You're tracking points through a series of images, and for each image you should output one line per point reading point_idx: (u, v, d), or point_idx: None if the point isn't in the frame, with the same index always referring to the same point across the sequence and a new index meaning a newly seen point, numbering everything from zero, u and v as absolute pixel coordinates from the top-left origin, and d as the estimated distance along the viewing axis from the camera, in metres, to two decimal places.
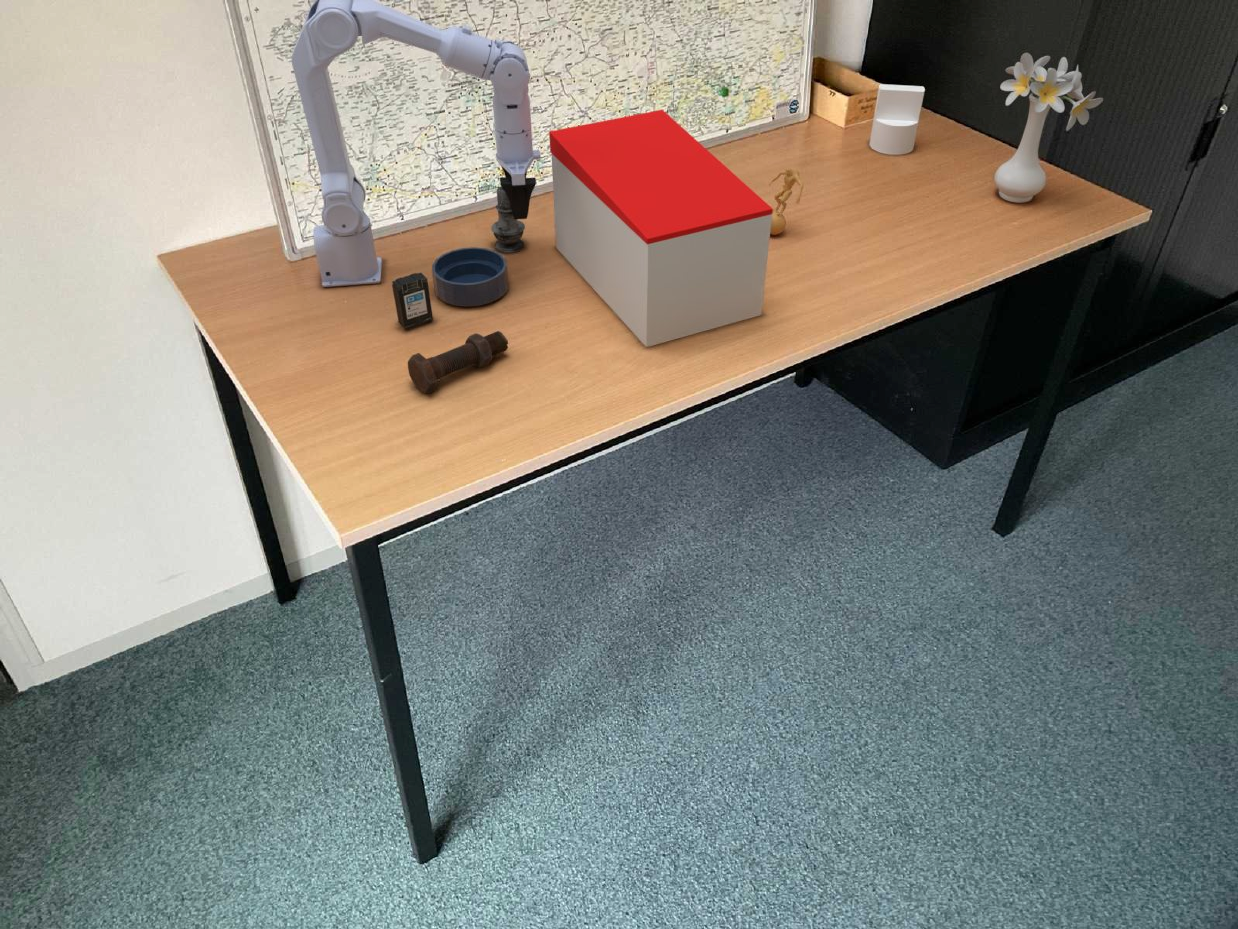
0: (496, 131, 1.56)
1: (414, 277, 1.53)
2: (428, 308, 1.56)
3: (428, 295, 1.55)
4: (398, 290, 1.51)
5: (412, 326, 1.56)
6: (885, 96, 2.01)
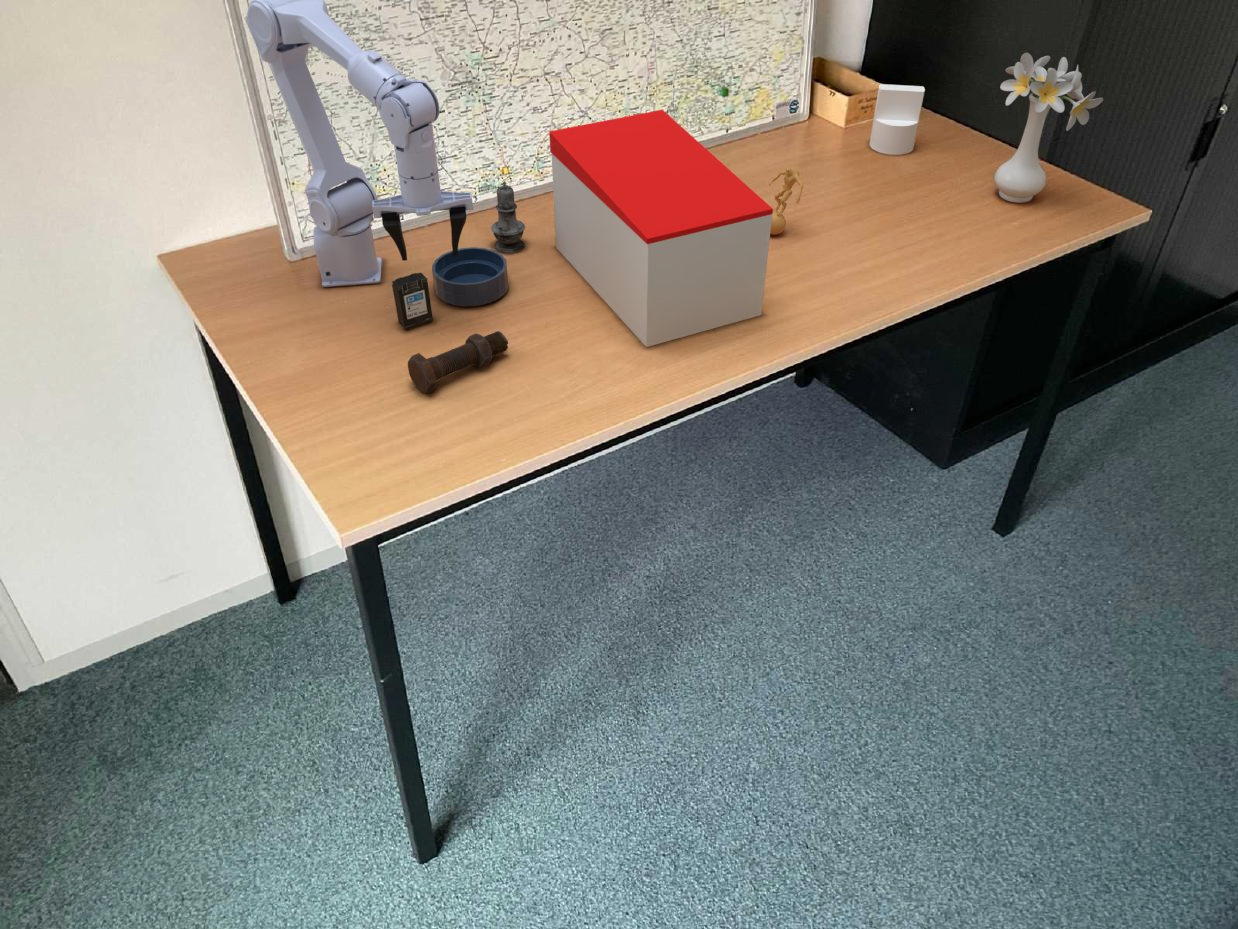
0: None
1: (414, 277, 1.53)
2: (428, 308, 1.56)
3: (428, 295, 1.55)
4: (398, 290, 1.51)
5: (412, 326, 1.56)
6: (885, 96, 2.01)
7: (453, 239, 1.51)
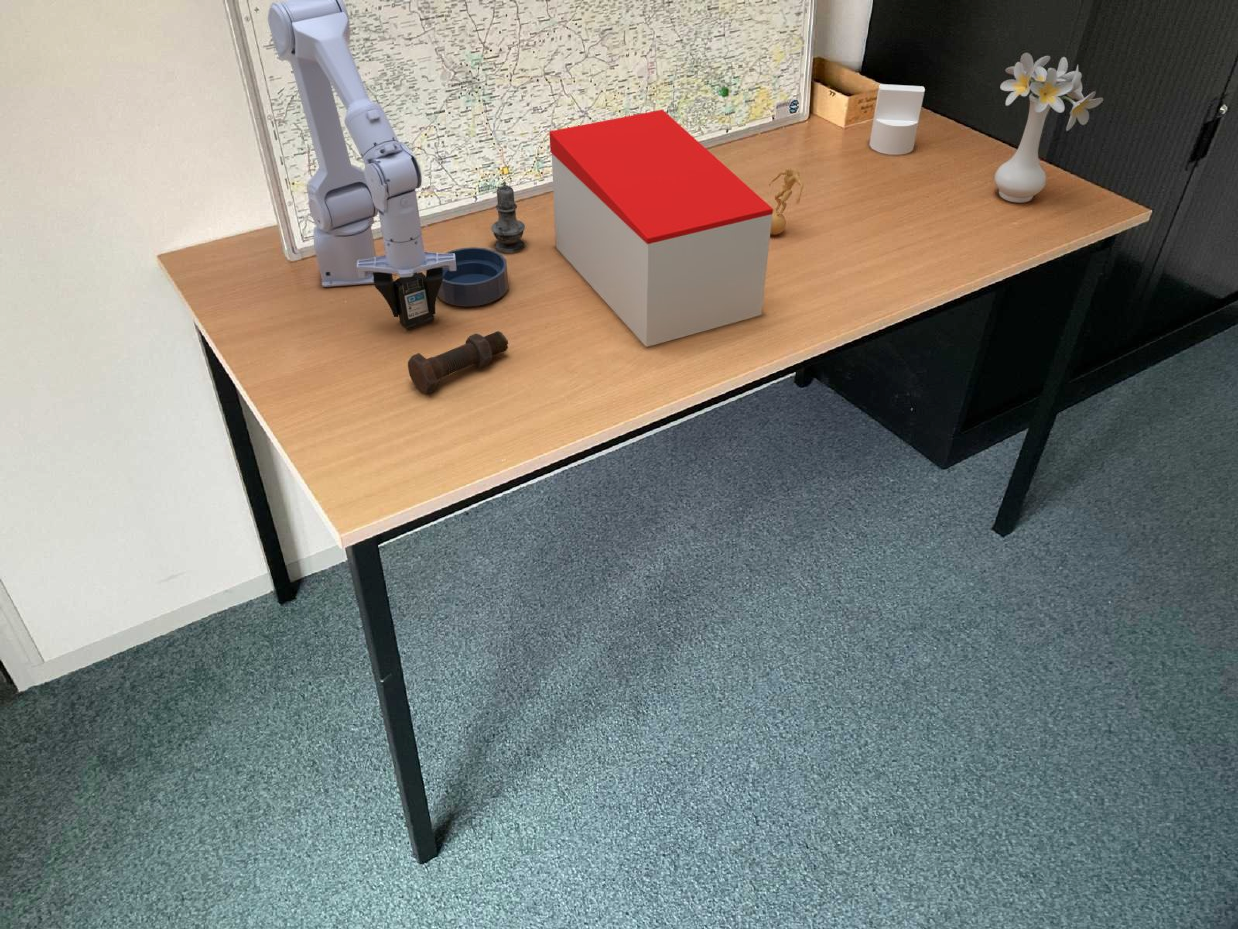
0: None
1: (414, 276, 1.53)
2: (429, 308, 1.56)
3: None
4: (399, 290, 1.51)
5: (414, 325, 1.56)
6: (885, 96, 2.01)
7: (430, 299, 1.53)
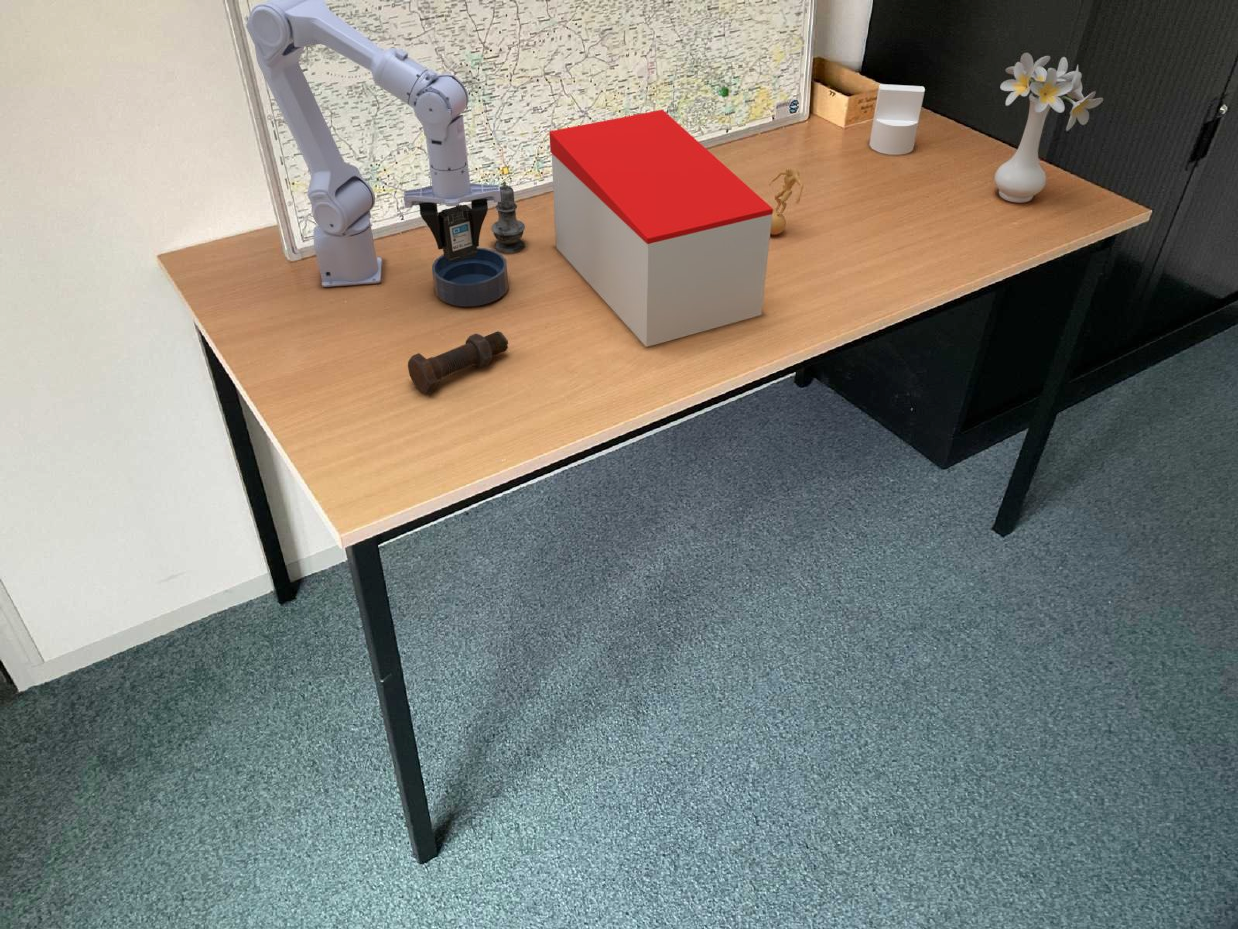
0: None
1: (459, 208, 1.55)
2: (473, 240, 1.58)
3: (473, 227, 1.57)
4: (444, 221, 1.53)
5: (457, 258, 1.58)
6: (885, 96, 2.01)
7: (474, 230, 1.55)
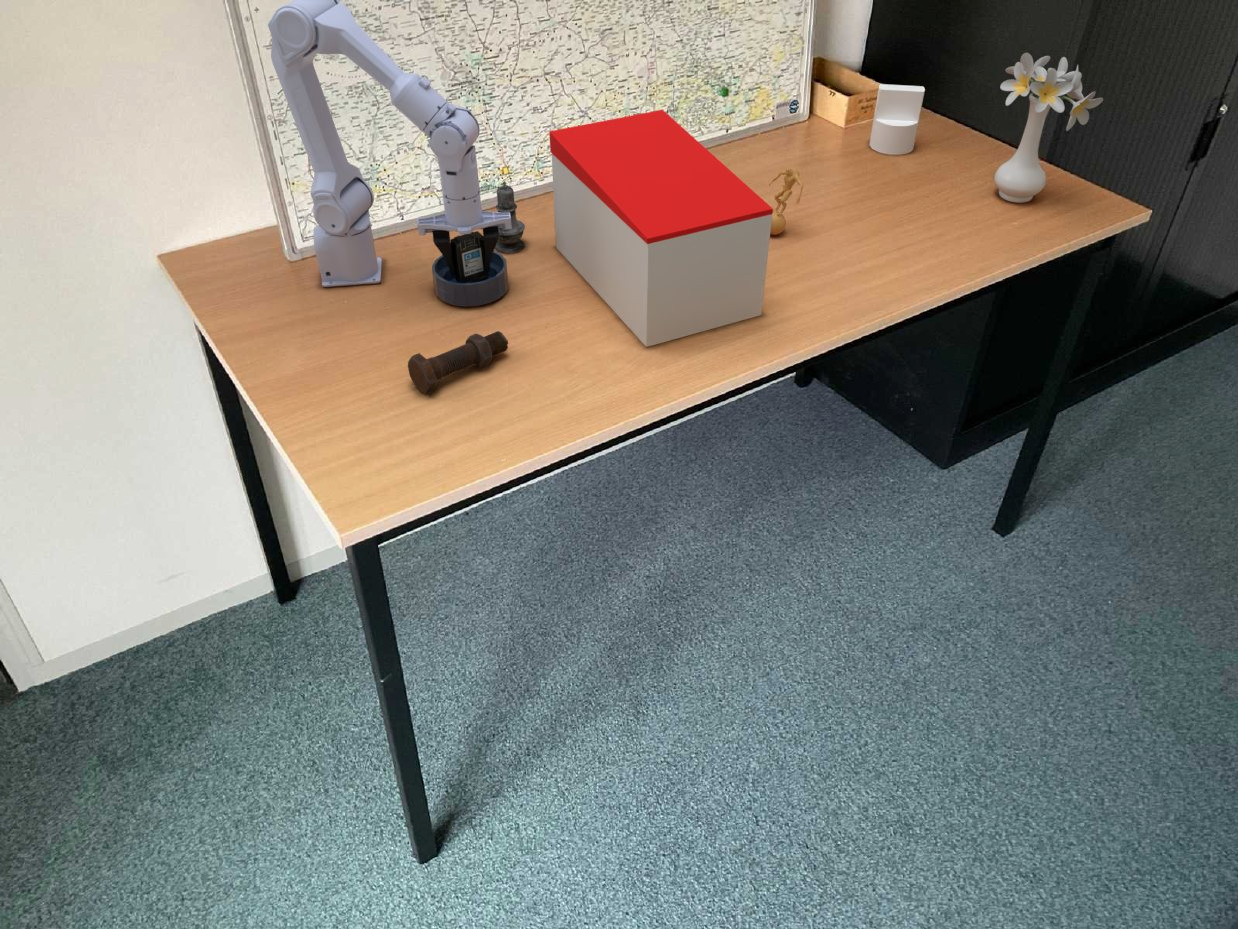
0: None
1: (471, 235, 1.59)
2: (484, 266, 1.63)
3: (484, 253, 1.62)
4: (456, 247, 1.58)
5: None
6: (885, 96, 2.01)
7: (486, 256, 1.60)
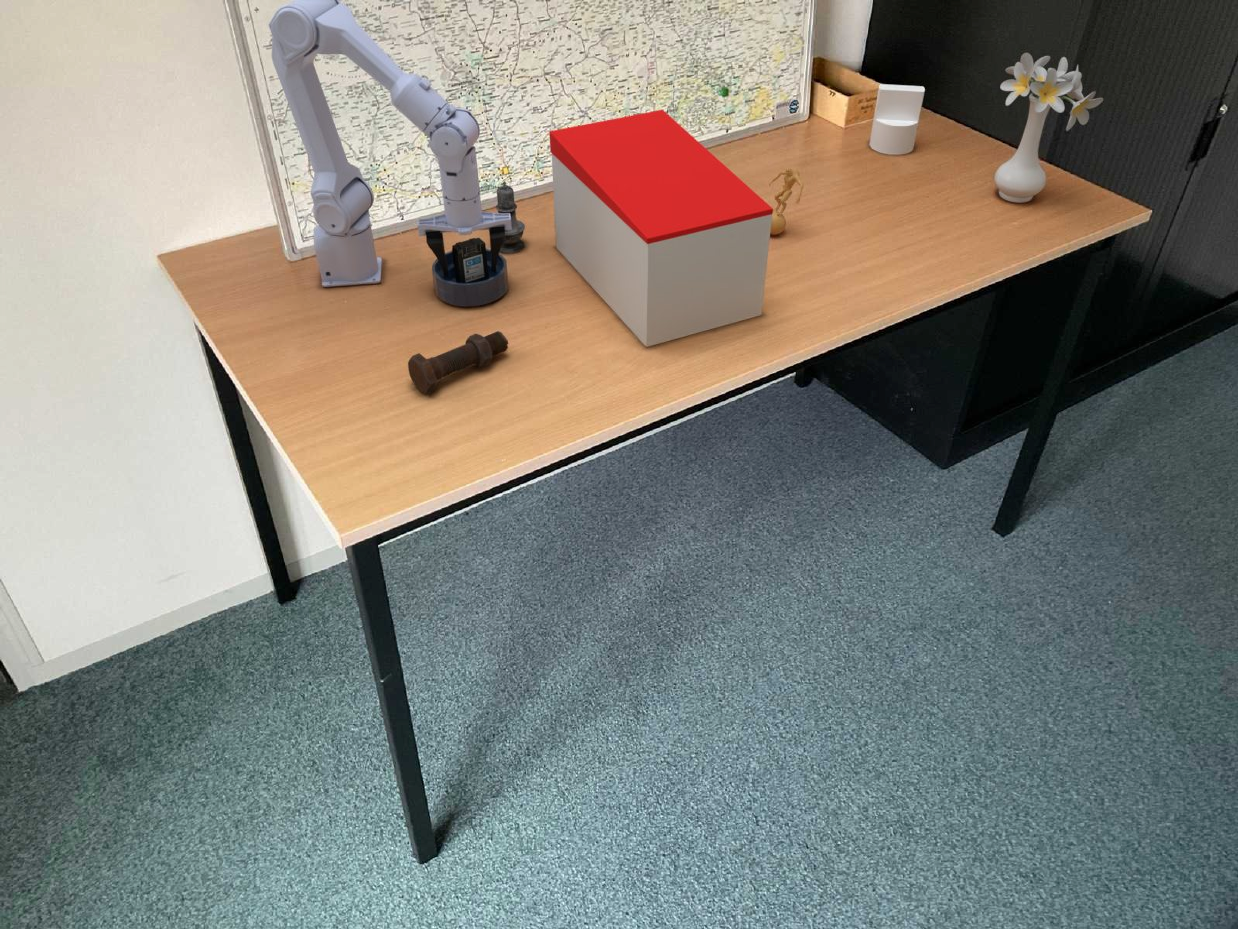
0: None
1: (473, 241, 1.60)
2: (485, 272, 1.64)
3: (485, 259, 1.62)
4: (458, 254, 1.59)
5: None
6: (885, 96, 2.01)
7: (492, 257, 1.60)
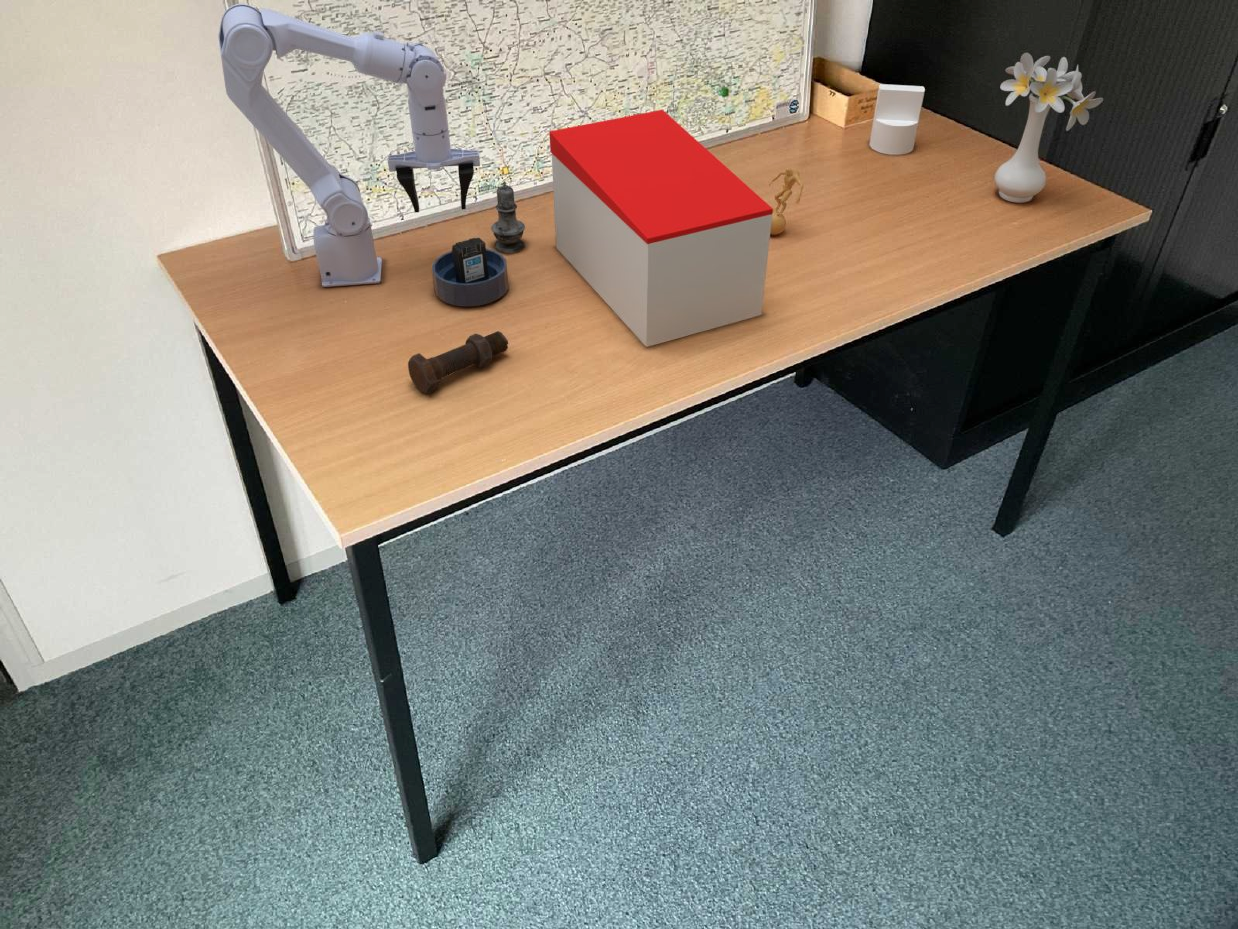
0: None
1: (473, 241, 1.60)
2: (485, 272, 1.64)
3: (485, 259, 1.62)
4: (458, 254, 1.59)
5: None
6: (885, 96, 2.01)
7: (461, 193, 1.64)
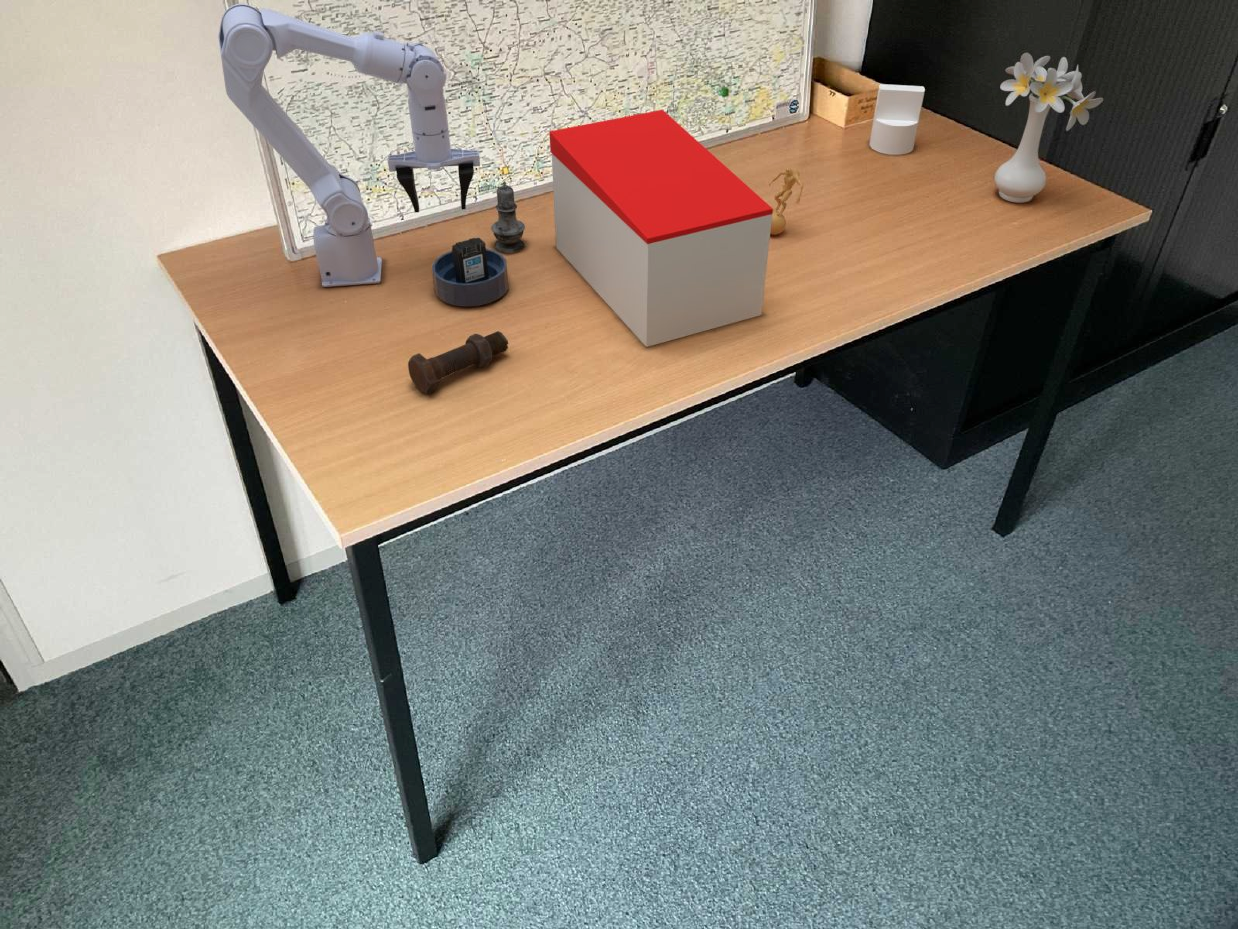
0: None
1: (473, 241, 1.60)
2: (485, 272, 1.64)
3: (485, 259, 1.62)
4: (458, 254, 1.59)
5: None
6: (885, 96, 2.01)
7: (461, 193, 1.64)
